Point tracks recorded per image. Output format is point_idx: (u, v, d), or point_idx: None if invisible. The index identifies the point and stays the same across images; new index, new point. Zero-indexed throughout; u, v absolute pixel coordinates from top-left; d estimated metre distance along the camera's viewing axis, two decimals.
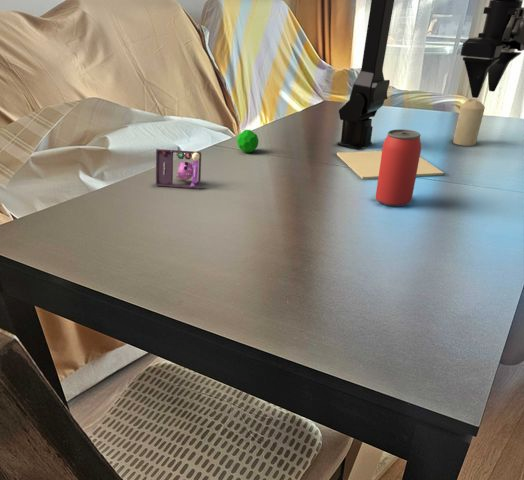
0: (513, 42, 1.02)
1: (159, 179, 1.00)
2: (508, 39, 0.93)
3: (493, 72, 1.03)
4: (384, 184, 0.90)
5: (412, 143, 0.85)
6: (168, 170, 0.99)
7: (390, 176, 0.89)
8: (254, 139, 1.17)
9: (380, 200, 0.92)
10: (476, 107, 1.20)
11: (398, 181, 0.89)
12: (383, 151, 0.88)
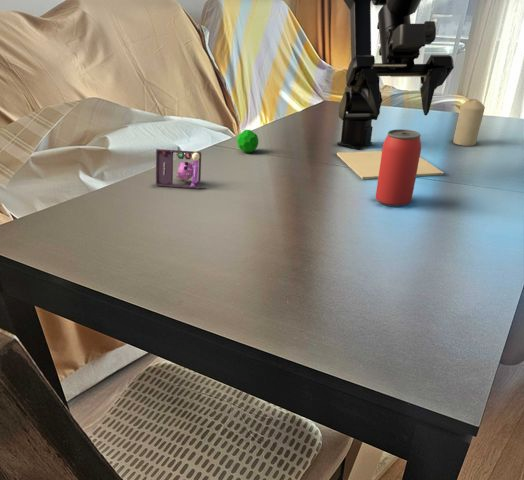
0: None
1: (159, 179, 1.00)
2: (388, 53, 0.91)
3: (424, 98, 0.94)
4: (384, 184, 0.90)
5: (412, 143, 0.85)
6: (168, 170, 0.99)
7: (390, 176, 0.89)
8: (254, 139, 1.17)
9: (380, 200, 0.92)
10: (476, 107, 1.20)
11: (398, 181, 0.89)
12: (383, 151, 0.88)
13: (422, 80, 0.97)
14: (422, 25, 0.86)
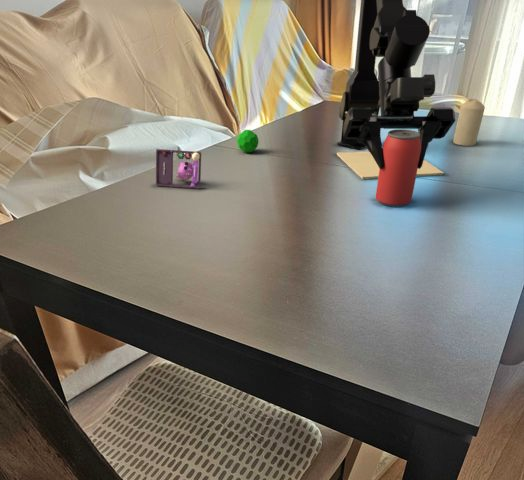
0: (445, 120, 0.90)
1: (159, 179, 1.00)
2: (386, 105, 0.87)
3: None
4: (384, 184, 0.90)
5: (412, 143, 0.85)
6: (168, 170, 0.99)
7: (390, 176, 0.89)
8: (254, 139, 1.17)
9: (380, 200, 0.92)
10: (476, 107, 1.20)
11: (398, 181, 0.89)
12: (383, 151, 0.88)
13: None
14: (420, 79, 0.82)
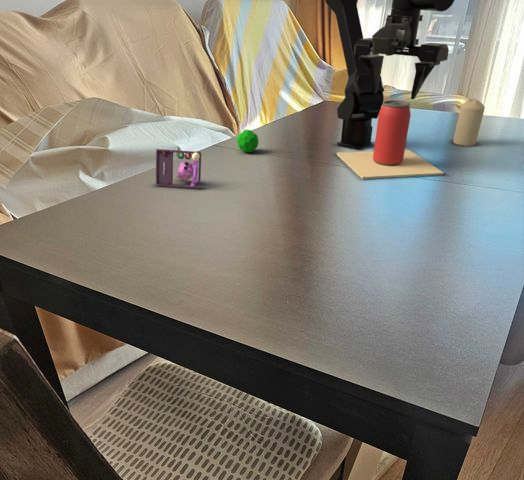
0: None
1: (159, 179, 1.00)
2: None
3: None
4: (381, 146, 1.08)
5: (404, 110, 1.04)
6: (168, 170, 0.99)
7: (386, 139, 1.07)
8: (254, 139, 1.17)
9: (378, 161, 1.10)
10: (476, 107, 1.20)
11: (393, 143, 1.07)
12: (380, 119, 1.06)
13: None
14: (387, 40, 0.96)
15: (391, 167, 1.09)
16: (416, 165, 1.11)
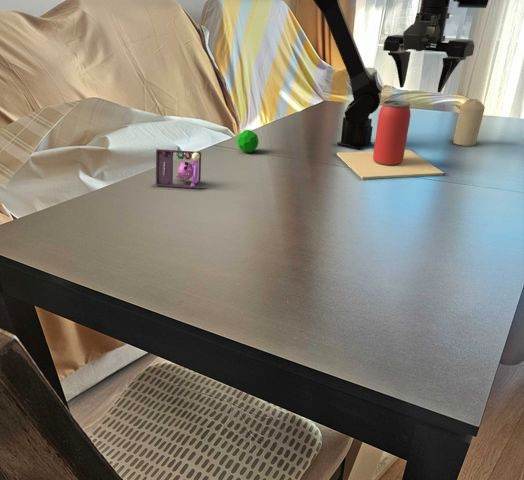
0: None
1: (159, 179, 1.00)
2: None
3: None
4: (381, 146, 1.08)
5: (404, 110, 1.04)
6: (168, 170, 0.99)
7: (386, 139, 1.07)
8: (254, 139, 1.17)
9: (378, 161, 1.10)
10: (476, 107, 1.20)
11: (393, 143, 1.07)
12: (380, 119, 1.06)
13: None
14: (418, 36, 1.03)
15: (391, 167, 1.09)
16: (416, 165, 1.11)
